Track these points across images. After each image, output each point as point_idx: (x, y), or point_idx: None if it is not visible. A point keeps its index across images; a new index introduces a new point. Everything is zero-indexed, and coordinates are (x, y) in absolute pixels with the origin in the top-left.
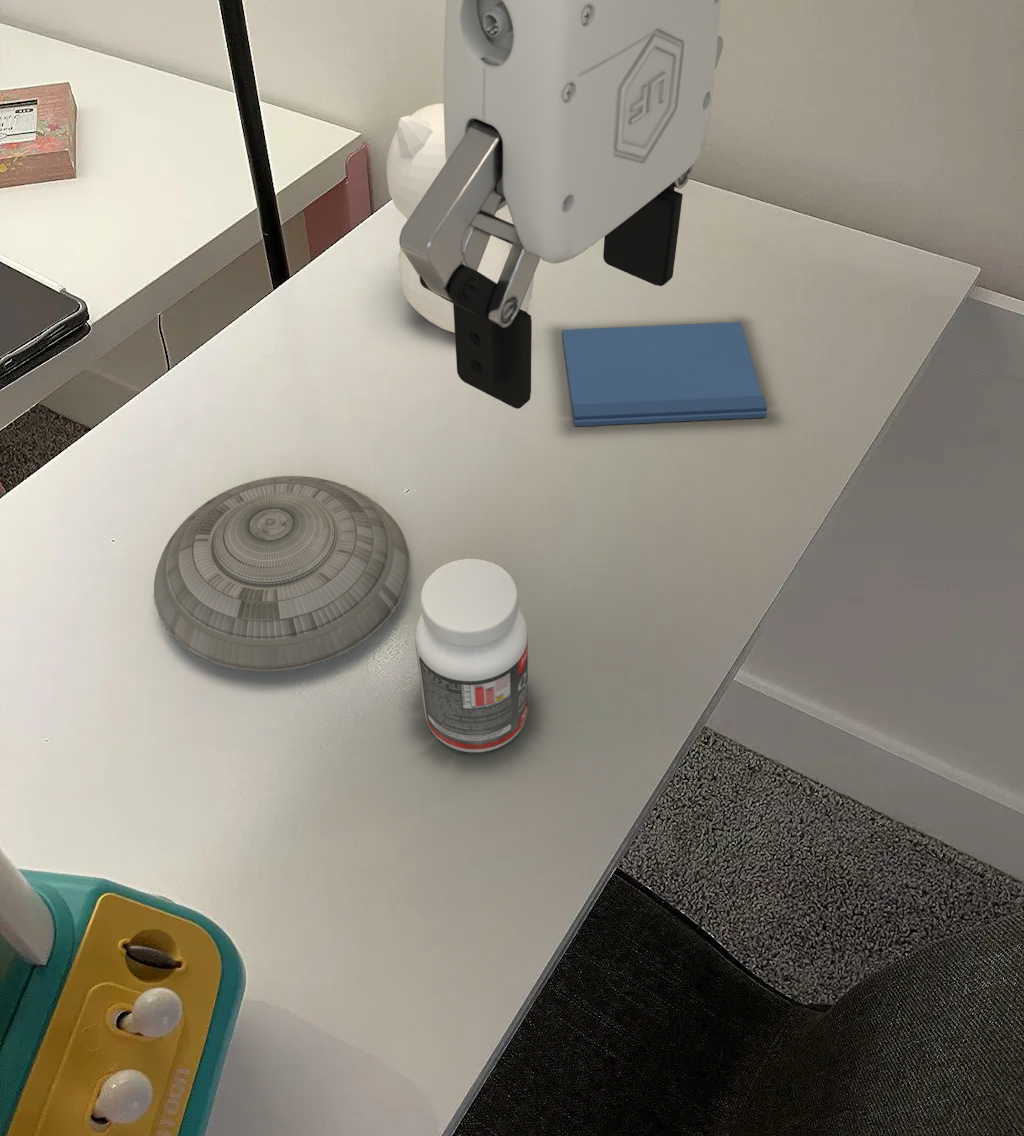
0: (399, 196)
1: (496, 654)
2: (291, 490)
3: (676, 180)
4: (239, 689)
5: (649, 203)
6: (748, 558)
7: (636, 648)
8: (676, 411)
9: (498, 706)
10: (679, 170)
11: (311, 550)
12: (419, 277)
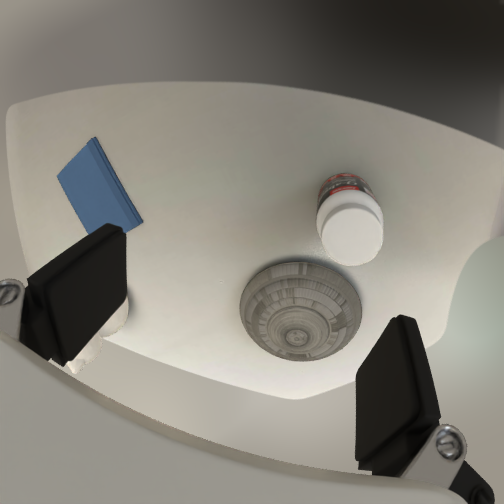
0: (98, 352)
1: (369, 205)
2: (265, 334)
3: (18, 300)
4: (363, 304)
5: (62, 311)
6: (182, 101)
7: (270, 132)
8: (112, 178)
9: (369, 190)
10: (5, 363)
11: (302, 315)
12: (118, 323)
